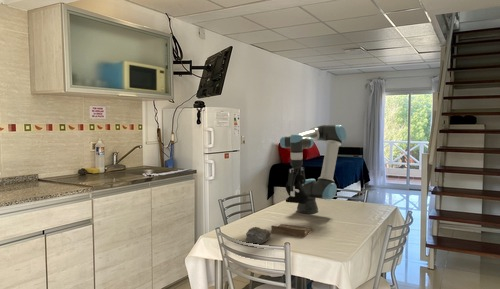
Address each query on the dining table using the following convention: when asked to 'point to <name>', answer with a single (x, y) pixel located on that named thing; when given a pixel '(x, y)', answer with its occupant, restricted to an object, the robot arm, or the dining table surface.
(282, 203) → the dining table surface
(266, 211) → the dining table surface
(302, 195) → the figurine
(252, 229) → the rock
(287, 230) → the display board
